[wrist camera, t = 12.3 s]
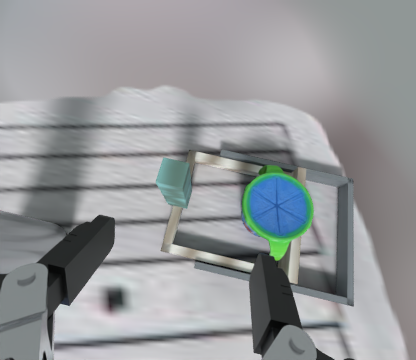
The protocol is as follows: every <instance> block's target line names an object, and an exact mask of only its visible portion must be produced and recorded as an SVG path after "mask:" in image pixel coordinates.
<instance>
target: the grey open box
mask: <svg viewBox="0 0 416 360" xmlns="http://www.w3.org/2000/svg"><path fill="white" fill-rule="evenodd" d="M195 163H199V164H204V165H208V166H213V167H217V168H222V169H226V170H230V171H235V172H239V173H244V174H248V175H252V176H257V177H258V176H260V175H259V174H258V172H259V170H260V169H261V168H262V167H263V166H258V165H254V164H249V163H245V162H241V161H236V160H232V159H227V158H223V157H218V156H214V155H209V154H205V153H201V152H196V151H192V150H189V153H188V157H187V160H186V162H182V161H177V160H173V159H168V158H163V161H162V164H161V167H160V170H159V173H158V176H157V179H156V184H157V185H158V187H159V189H160V191H161V192H162V194H163V196H164V198H165V200H166V201H167V203H168V204H169V205H173V209H172V213H171V216H170V220H169V223H168V227H167V230H166V234H165V237H164V241H163V244H162V248H161V251H163V252H167V253H171V254H175V255H179V256H183V257H187V258H192V259H196V260H200V261H204V262H208V263H212V264H217V265H221V266H225V267H229V268H233V269H237V270H241V271H246V272H250V273H251V271H252V269H253V266H254V264H253V263H249V262H245V261H240V260H236V259H232V258H228V257H224V256H220V255H215V254H211V253H207V252H203V251H199V250H194V249H190V248H186V247H182V246H178V245H174V244H173V242H174V239H175V235H176V231H177V228H178V224H179V220H180V216H181V213H182V209H183V208H186V209H187V207H188V203H189V199H190V195H191V192H192V187H191V176H192V172H193V168H194V165H195ZM283 172H284V173H285V174H287V175H289V176H292V177H293V178H295V179H296V180H298V181H299V182H300V183H301V184H302V185H303V186H304V187H305V180H306V169H305V168H300V167H298V168H297V169H295V170H294V171H293V172H292V173H289V172H285V171H283ZM300 245H301V236H300V237H298V238H296V239H293V240H292V241H290V243H289V246H288V248H287V250H286V252H285V254H284V256H283V257H282V258H281V259H280V260H278V268H282V269H283V270H284V272H285V273H286V275H287V276H288V278H289V282H290V283H294V284H298V271H299V258H300Z"/></svg>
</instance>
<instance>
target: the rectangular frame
mask: <svg viewBox="0 0 416 360" xmlns="http://www.w3.org/2000/svg"><path fill="white" fill-rule="evenodd" d="M220 157H223V158H227V159H232V160H236V161H241V162H245V163H249V164H254V165H258V166H263V167H264V166H265V165H275V166H278V167H280V168H281V169H282V170H283V171H285V172H289V173H292V172H293V171H294V170H295V169H297V168H298V166H293V165H289V164H284V163H280V162H275V161H271V160H266V159H262V158H258V157H253V156H249V155H244V154H240V153H235V152H231V151H226V150H222V149H221V153H220ZM300 168H302V167H300ZM305 169H306V180H308V181H313V182H317V183H322V184H326V185H331V186H335V187H338V231H337V278H336V295H334V294H330V293H326V292H322V291H318V290H313V289H309V288H305V287H301V286H297V285H293V284H290V285H291V289H292V292H296V293H300V294H304V295H308V296H312V297H316V298H320V299H324V300H329V301H333V302H337V303H341V304H345V305H349V306H353V307H354V251H353V179H351V178H347V177H342V176H338V175H333V174H329V173H325V172H320V171H316V170H311V169H307V168H305ZM194 268H196V269H200V270H205V271H209V272H213V273H217V274H221V275H225V276H229V277H234V278H238V279H242V280H246V281H249V280H250V274H247V273H243V272H239V271H235V270H230V269H226V268H222V267H218V266H214V265H210V264H206V263H201V262H197V261H196V262H195V266H194Z"/></svg>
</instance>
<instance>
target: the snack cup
mask: <svg viewBox="0 0 416 360" xmlns="http://www.w3.org/2000/svg"><path fill="white" fill-rule="evenodd" d="M258 174H259V175H260V176H258V177H256V178H255V179H254V180H253V181H252V182H251V183H250V184H248V185H247V186H246V188H245V191H244V195H243V199H242V221H243V224H244V226H245V227H246V229H247V230H248V231H249V232H251V233H252V234H254V235H256V236H259V237H263V238H265V239H267V240H268V241H269V244H270V254H269V255H270V256H274V258H275V260H276V261H278V260H280V259H281V258H282V257H283V256H284V254H285V252H286V250H287V248H288V246H289V243H290V241H292V240H293V239H296V238H298V237H300V236H301V235H303V234H304V233H305V232H306V231H307V229H308V228H310V226H311V223H312V219H313V213H314V210H313V203H312V199H311V197H310V195H309V193H308V191H307V189H306V188H305V187H304V186H303V185H302V184H301V183H300V182H299V181H298V180H296V179H295V178H293V177H292V176H289V175H287V174H285V173H284V172H283V170H282V169H281V168H280V167H278V166H275V165H265V166H264V167H262V168H261V169H260V170H259V172H258Z"/></svg>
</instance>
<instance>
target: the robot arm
mask: <svg viewBox="0 0 416 360" xmlns="http://www.w3.org/2000/svg"><path fill="white" fill-rule="evenodd" d="M114 239H115V219H114V218H112V217H108V216H103V215H98V216H97V217H96V218H95V219H94V220H93V221H92V222H91V223H90V222H85V223H83V224H81V225H79V226H77V227H75V228H74V229H73V230H72V231H71V232H70V233H69V235H66V232H65V231H64V230H63V228H61V227H60V226H59V225H57V224H55V223H51V222H47V221H43V220H39V219H35V218H30V217H26V216H22V215H17V214H13V213H9V212H4V211H0V360H54V324H55V310H56V308H57V307H58V306H59V305H60V304H64V305H68V306H70V304H71V303H72V302H73V300H74V299H75V298H76V296H77V295H78V294H79V292H80V291H81V290H82V288H83V287H84V286H85V284H86V283H87V282H88V280H89V279H90V278H91V276H92V275H93V274H94V272H95V271H96V270H97V268H98V267H99V266H100V264H101V263H102V262H103V260H104V259H105V258H106V256H107V255H108V254H109V252H110V251H111V249H112V247H113V244H114ZM249 289H250V304H251V319H252V334H253V349H254V353H257V354H261V355H262V360H334V359H333V358H331V357H329V356H328V355H326V354H324V353H322V352H321V351H319V350H318V349H317V348H316V347H315V345H314V343H313V341H312V339H311V338H310V337H309V336H308V334H307V333H306V332H305V331H303V329H302V326H301V322H300V318H299V315H298V311H297V307H296V304H295V300H294V297H293V293H292V289H291V285H290V282H289V278H288V276H287V275H286V273H285V272H284V270H283V269H282V268H277V267H276V262H275V258H274V256H270V255H266V254H262V253H259V254H258V256H257V259H256V261H255V264H254V266H253V269H252V271H251V274H250V280H249ZM344 360H354V359H350V358H347V359H344Z"/></svg>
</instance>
